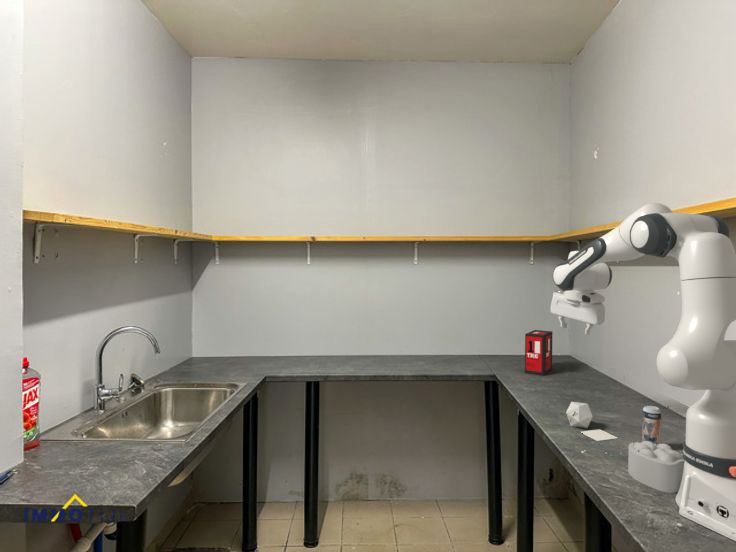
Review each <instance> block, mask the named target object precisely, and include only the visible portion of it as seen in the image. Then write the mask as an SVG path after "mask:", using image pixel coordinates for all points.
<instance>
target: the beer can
mask: <svg viewBox="0 0 736 552" xmlns="http://www.w3.org/2000/svg"><path fill="white" fill-rule="evenodd" d="M661 426H662V411H661V410H660V408H659V407H657V406H654V405H644V407H643V408H642V429H641V430H642V434H641V435H642V438H641V439H642V441H641V442H643V441H649V442H652V443H653V444H657V445H658V444H661V433H662V432H661V431H662V429H661Z"/></svg>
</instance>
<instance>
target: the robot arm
mask: <svg viewBox="0 0 736 552" xmlns="http://www.w3.org/2000/svg"><path fill="white" fill-rule="evenodd" d="M729 237H730V230H729V226H728V223H727V222H726V221H725V220H724V219H723V218H721V217H719V216H715V215H712V214H708V213H699V214H697V213H688V212H687V213H686V212H678V211H677V212H673V210H672V209H670V207H668V206H667V205H665V204H663V203H658V202H650V203H646V204H644V205H642V206H640V207H639V208H638V209H636V210H635V211H633V212H632V213H630V214H629V215H628V216H627V217H626V218H625V219H624V220H623V221H621V223H620V224H619V225H617V226H616V227H615V228H613V229H612V230H610V231H608V232H607V233H605V234H603V235H602V236H600V237H598V238H596V239H595V240H592V241H590V242H589V243H587V244H586V245H585V246H583V247H581V249H574V250H572V251H570V252H569V253H568V258H567V260H562V261H560V262H559V263H558V264H557V265H556V266H555V268H554V269H553V273H552V281H553V283H554V285H555V286H557V288H558V289H556V290H555V291H554V292H553V294H552V299H551V302H550V308H549V309H550V310H549V311H550V313H551V314H553V315H557V316H558V317H557V318H558V320H559V323H560V328H562V329H566V328H567V327H568V323H567V322H566V320H565V318H569V319H572V320H575V321H580V322H583V323H585V324H586V327H585V328H582V334H583V335H586V336H587V335H590V332H591V329H592V328H593V327H594V326H598V325H599V326H600V325H602V324H604V322H605V317H606V308H605V304H604V302H605V300H606V299H605V296H604V295H603V294H600V293H599V292H597V291H599V290H605V289H607V288H608V287H609V286H610V284H611V282H612V279H613V270H612V269H611V267H610V265H608V263H609V262H622V261H624V262H625V261H632V260H636V259H639V258H641V257H643V256H645V255H648V256H650V257H651V256H652V257H658V258H661V259H662V258H663V259H664V258H665V257H673V258H674V259H675V260H676V261H677V262H678V266H679V267H678V268H679V282H680V297H681V298H680V299H681V312H680V313H681V314H680V318H679V319H680V320H679V323H678V327H677V329H676V330H675V333H674V334H673V336H672V337H671V339H669V341H668V342H667V343H666V344H664V345H662V347H661V348H660V349H659V350H658V352H657V355H656V359H655V363H656V364H655V365H656V366H655V367H656V369H657V372H658V374H659V376H660V377H661V379H662V380H663V381H664V382H665V383H666V384H668V385H669V386H671V387H675V388H680V389H685V390H686V389H687V390H691V391H705V392H704V393H703V395H702V397H701V398H700V399H698V400H697V401H696V402H694V403H693V404H691V405H690V406H688V408H687V410H686V413H685V440H684V442H683V443H682V454H683V459H684V469H683V476H682V481H681V485H680V488H679V491H678V492H676V493H677V494H676V496H675V503H676V504H677V506H678V507H679V508H678V509H679V510H678V514H679V515H680V516H682V517H684V518H685V519H688V520H690V521H693V522H694V523H696V524H699V525H701V526H703V527H705V528H707V529H709V530H712V531H713V532H715V533H718V534H719V535H722V536H723V537H726V538H728V539H730V540H732V541H734V542H736V340H735V339H734V340H733V339H732V340H731V339H725V338H726V333H727V330H728V329H729V326H730V325H731V324H732V323H733V322H734V321H736V250H735V247H734V245H733V243H732V241H731V239H730V238H729ZM596 290H597V291H596Z"/></svg>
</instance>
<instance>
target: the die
mask: <svg viewBox="0 0 736 552" xmlns="http://www.w3.org/2000/svg"><path fill="white" fill-rule="evenodd" d="M565 414H566V416H567V418H568V419H567V420H568V422H569V425H570V427H574V428H583V429H588V427H589V426H590V423H591V421H592V420H593V417H594V416H593V413H592V412H591V409H590V406H589V404H588V403H584V402H577V401H571V402H570V404H569V406H568V407H567V410H566V412H565Z"/></svg>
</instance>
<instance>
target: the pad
mask: <svg viewBox="0 0 736 552" xmlns="http://www.w3.org/2000/svg"><path fill="white" fill-rule="evenodd" d="M580 432H581V433H580V434H582V433H583V435H584V436H587V437H589V438H590V439H592V440H594V441H596V442H601V441H602V442H603V441H609V440H616V439H619V437H617V436H615V435H612V434H610V433H609V432H606V431H605V430H602V429H601V428H599V429H591V430H585V431H580Z"/></svg>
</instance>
